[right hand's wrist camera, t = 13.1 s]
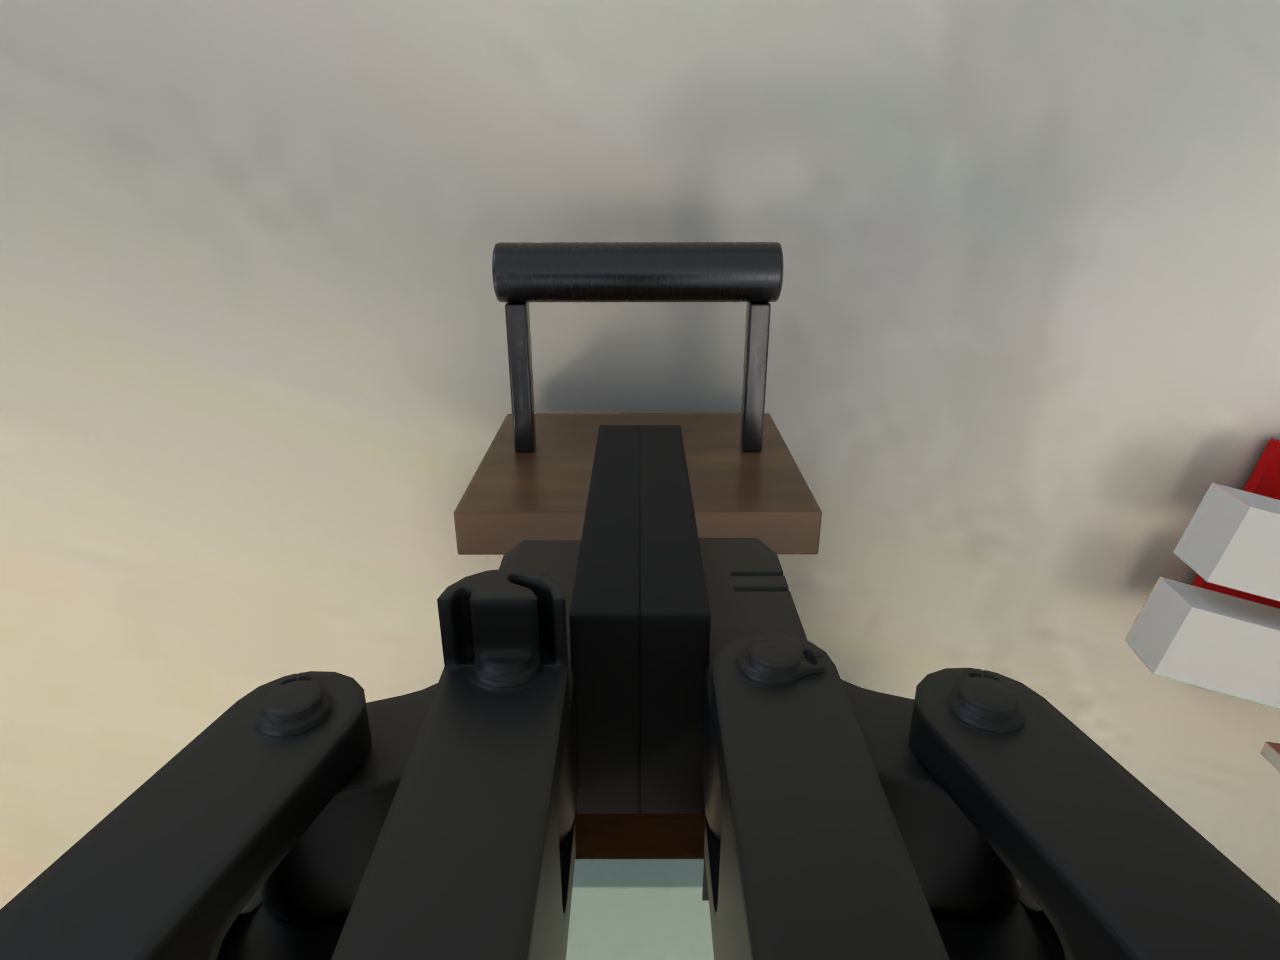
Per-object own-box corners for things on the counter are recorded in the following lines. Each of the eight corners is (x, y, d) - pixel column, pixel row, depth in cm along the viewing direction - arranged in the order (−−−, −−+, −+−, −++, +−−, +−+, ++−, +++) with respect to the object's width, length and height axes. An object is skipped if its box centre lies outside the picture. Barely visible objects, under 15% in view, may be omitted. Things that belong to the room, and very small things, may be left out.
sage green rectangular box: (514, 671, 32) (460, 888, 22) (763, 671, 32) (816, 887, 22) (536, 967, 39) (501, 1233, 29) (743, 967, 39) (777, 1233, 29)
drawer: (494, 232, 25) (428, 260, 17) (781, 231, 25) (846, 260, 17) (531, 780, 33) (498, 969, 25) (746, 780, 33) (779, 968, 25)
